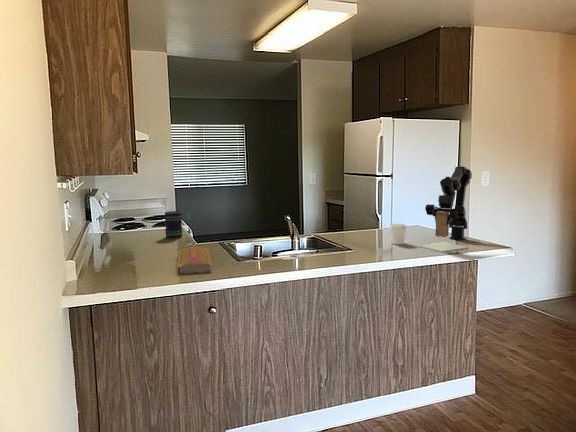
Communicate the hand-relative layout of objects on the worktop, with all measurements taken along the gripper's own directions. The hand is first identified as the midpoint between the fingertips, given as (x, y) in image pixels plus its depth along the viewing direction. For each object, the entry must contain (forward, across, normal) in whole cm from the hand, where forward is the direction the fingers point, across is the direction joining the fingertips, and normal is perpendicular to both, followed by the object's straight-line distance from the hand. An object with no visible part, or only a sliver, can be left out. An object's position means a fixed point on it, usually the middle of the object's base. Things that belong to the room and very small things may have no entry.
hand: (441, 224), depth 229 cm
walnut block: (+3, 0, +5) cm, 6 cm away
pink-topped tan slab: (+67, -88, -48) cm, 121 cm away
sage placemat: (+4, -1, +15) cm, 15 cm away
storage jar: (+37, -145, -18) cm, 151 cm away
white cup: (+5, -24, +14) cm, 29 cm away
